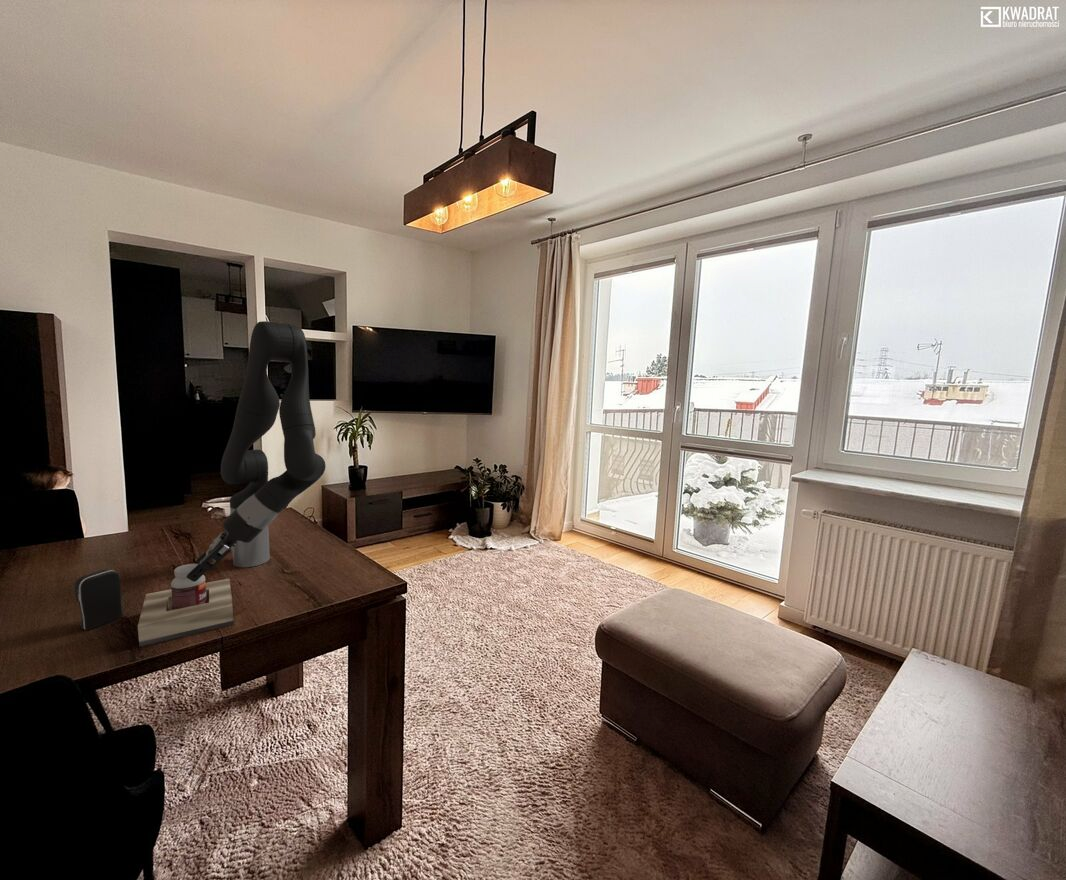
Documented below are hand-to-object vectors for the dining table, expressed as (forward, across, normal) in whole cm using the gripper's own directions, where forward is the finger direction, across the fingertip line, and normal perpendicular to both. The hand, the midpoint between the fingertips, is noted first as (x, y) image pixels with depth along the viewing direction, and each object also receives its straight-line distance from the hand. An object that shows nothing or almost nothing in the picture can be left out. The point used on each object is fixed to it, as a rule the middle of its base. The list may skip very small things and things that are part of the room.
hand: (195, 571), depth 103 cm
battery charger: (+21, -5, -5) cm, 22 cm away
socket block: (+9, 0, +7) cm, 11 cm away
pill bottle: (+8, 0, +6) cm, 10 cm away
